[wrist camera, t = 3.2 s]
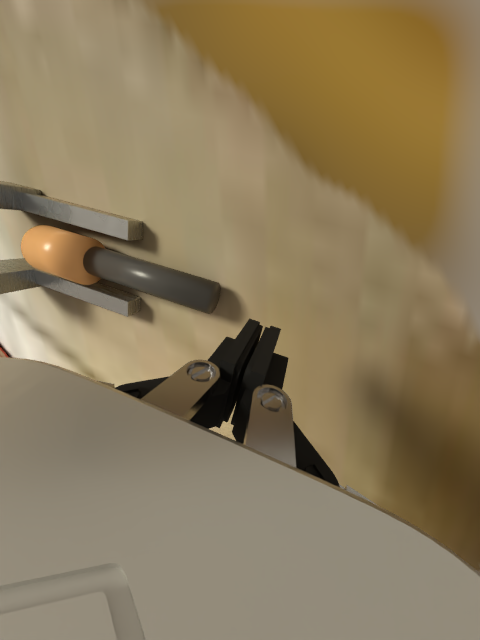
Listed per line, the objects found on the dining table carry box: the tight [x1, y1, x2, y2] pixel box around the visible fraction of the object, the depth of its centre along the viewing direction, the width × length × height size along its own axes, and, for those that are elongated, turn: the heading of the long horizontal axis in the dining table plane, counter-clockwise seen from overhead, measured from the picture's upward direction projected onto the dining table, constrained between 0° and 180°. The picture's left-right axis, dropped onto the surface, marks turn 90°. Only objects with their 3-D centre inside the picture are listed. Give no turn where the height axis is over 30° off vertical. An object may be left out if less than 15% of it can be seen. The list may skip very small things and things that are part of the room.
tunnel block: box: [0, 181, 143, 317], centre depth 21 cm, size 16×10×6 cm, turn 77°
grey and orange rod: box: [21, 225, 220, 314], centre depth 20 cm, size 19×4×4 cm, turn 77°
